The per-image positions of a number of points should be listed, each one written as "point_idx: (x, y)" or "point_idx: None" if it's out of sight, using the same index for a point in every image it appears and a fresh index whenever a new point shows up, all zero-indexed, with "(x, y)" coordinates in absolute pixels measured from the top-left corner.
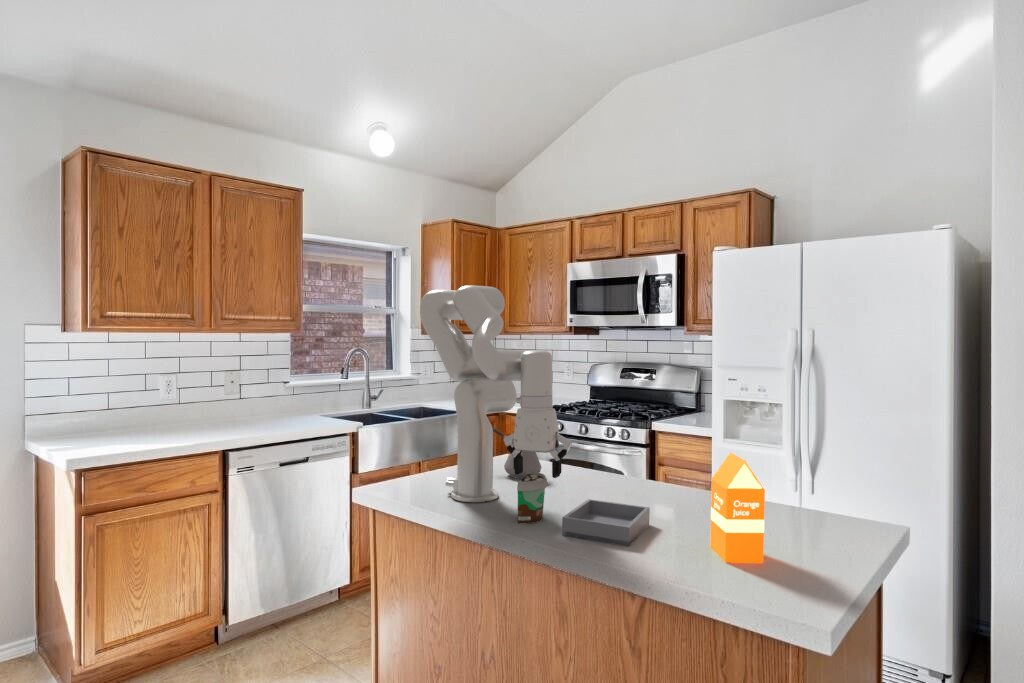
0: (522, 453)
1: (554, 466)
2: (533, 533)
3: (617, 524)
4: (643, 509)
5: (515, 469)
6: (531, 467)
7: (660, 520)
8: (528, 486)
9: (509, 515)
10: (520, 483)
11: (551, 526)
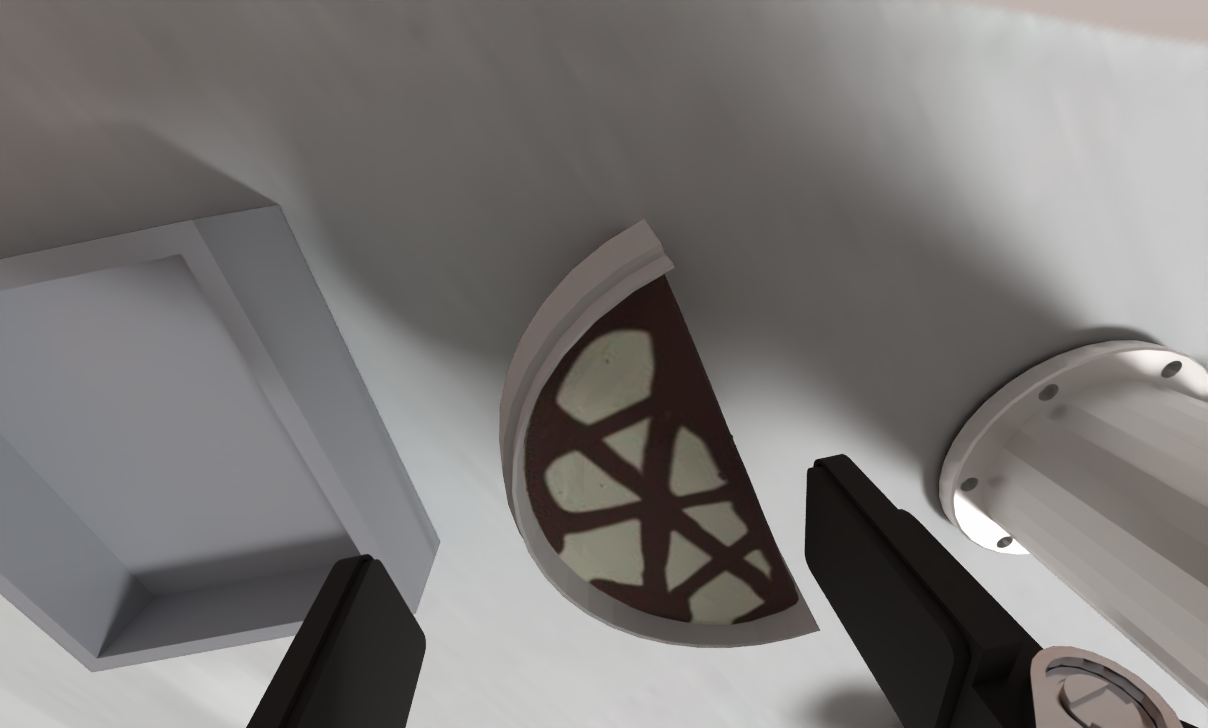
0: None
1: (265, 700)
2: (428, 117)
3: (175, 490)
4: (114, 646)
5: (867, 489)
6: None
7: None
8: (554, 316)
9: (750, 318)
10: (635, 273)
11: (447, 306)
